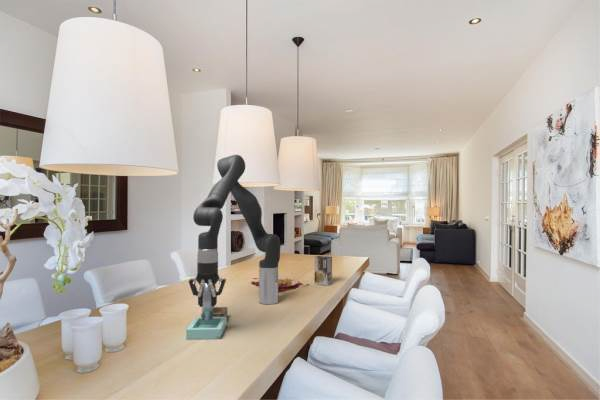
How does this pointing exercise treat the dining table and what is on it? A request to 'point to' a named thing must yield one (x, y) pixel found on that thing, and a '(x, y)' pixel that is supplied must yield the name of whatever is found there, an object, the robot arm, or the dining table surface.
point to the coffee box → (323, 270)
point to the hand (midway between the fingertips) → (207, 306)
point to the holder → (219, 312)
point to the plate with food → (284, 283)
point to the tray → (206, 328)
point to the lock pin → (207, 302)
